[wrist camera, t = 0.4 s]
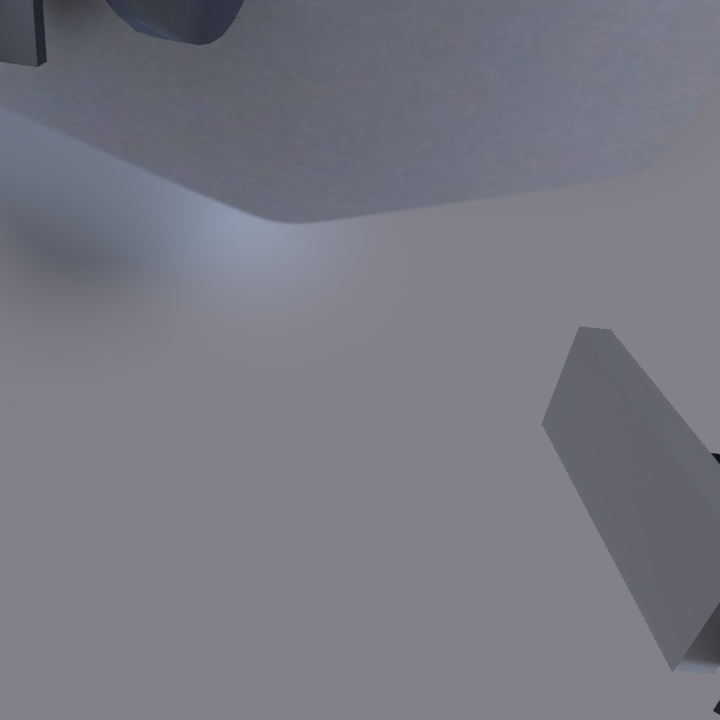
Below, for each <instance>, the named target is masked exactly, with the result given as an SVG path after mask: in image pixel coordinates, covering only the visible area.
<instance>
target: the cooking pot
mask: <svg viewBox="0 0 720 720" xmlns="http://www.w3.org/2000/svg"><path fill="white" fill-rule="evenodd" d="M0 62H7V63H14V64H21V65H28V66H35V67H38V66H40V65H42V64H44V63H45V62H47V58H46V44H45V29H44V15H43V0H0Z"/></svg>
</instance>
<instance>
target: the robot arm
mask: <svg viewBox="0 0 720 720" xmlns="http://www.w3.org/2000/svg"><path fill="white" fill-rule="evenodd" d="M542 425H543V427H544V429H545V431H546V433H547V434H548V436H549V438H550V440H551V442H552V444H553V446H554V448H555V450H556V452H557V454H558V456H559V457H560V459H561V461H562V463H563V465H564V467H565V469H566V471H567V473H568V474H569V477H570V478H571V480H572V482H573V484H574V486H575V488H576V490H577V492H578V494H579V495H580V497H581V499H582V501H583V503H584V505H585V507H586V509H587V511H588V513H589V514H590V516H591V518H592V520H593V522H594V524H595V526H596V528H597V530H598V532H599V533H600V535H601V537H602V539H603V541H604V543H605V545H606V547H607V549H608V550H609V552H610V554H611V556H612V558H613V560H614V562H615V564H616V566H617V567H618V570H619V571H620V573H621V575H622V577H623V579H624V581H625V583H626V585H627V587H628V589H629V591H630V592H631V594H632V596H633V598H634V600H635V602H636V604H637V606H638V608H639V610H640V611H641V613H642V615H643V617H644V619H645V621H646V623H647V625H648V627H649V629H650V630H651V632H652V634H653V636H654V638H655V640H656V642H657V644H658V646H659V648H660V649H661V651H662V653H663V655H664V657H665V659H666V661H667V663H668V665H669V667H670V669H671V670H672V672H673V673H714V672H715V671H716V669H717V668H718V667H719V665H720V454H714V453H710V452H709V451H708V449H707V448H706V447H705V445H704V444H703V443H702V442H701V441H700V439H699V438H698V437H697V436H696V434H695V433H694V432H693V431H692V429H691V428H690V427H689V426H688V425H687V423H686V422H685V421H684V420H683V418H682V417H681V416H680V415H679V413H678V412H677V411H676V410H675V409H674V407H673V406H672V405H671V404H670V402H669V401H668V400H667V399H666V397H665V396H664V395H663V394H662V392H660V390H659V389H658V388H657V386H656V385H655V384H654V383H653V381H652V380H651V379H650V378H649V377H648V375H647V374H646V373H645V372H644V371H643V369H642V368H641V367H640V365H639V364H638V363H637V362H636V360H634V358H633V357H632V355H631V354H630V353H629V352H628V351H627V349H626V348H625V347H624V346H623V345H622V343H621V342H620V341H619V340H618V338H617V337H616V336H615V335H614V333H613V332H612V331H611V330H609V329H608V330H607V329H599V328H588V327H579V329H578V331H577V334H576V336H575V339H574V341H573V344H572V347H571V349H570V352H569V354H568V357H567V360H566V362H565V365H564V367H563V370H562V373H561V375H560V378H559V380H558V383H557V386H556V388H555V391H554V393H553V396H552V399H551V401H550V404H549V406H548V409H547V412H546V414H545V417H544V419H543V422H542ZM713 711H714V712H716V713H718V714H719V715H720V700H719V702H718V703H717V705H716V707H715V708H714V710H713Z"/></svg>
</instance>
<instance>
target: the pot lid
mask: <svg viewBox="0 0 720 720" xmlns="http://www.w3.org/2000/svg"><path fill="white" fill-rule="evenodd" d="M106 1H107V2H108V4H109V5H110V6H111V7H112V9H113V10H114V11H115V12H116V14H117V15H118V16H119V17H120V18H122V19H123V20H124V21H125V22H127V23H128V24H129V25H130V26H132V27H133V28H134V29H135V30H137V31H139V32H141V33H144V34H147V35H150V36H152V37H156V38H162V39H168V40H173V41H179V42H184V43H190V44H196V45H203V44H210V43H212V42H214V41H215V40H217V39H218V38H219V37H221V36H222V35H223V34H224V33H225V31H226V30H227V29H228V28H229V26H230V25H231V24H232V23H233V21H234V19H235V17H236V15H237V13H238V12H239V10H240V8H241V6H242V4H243V1H244V0H106Z"/></svg>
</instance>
